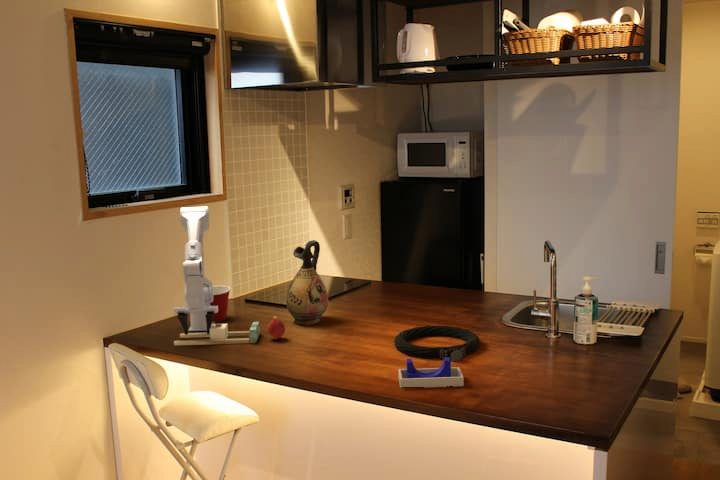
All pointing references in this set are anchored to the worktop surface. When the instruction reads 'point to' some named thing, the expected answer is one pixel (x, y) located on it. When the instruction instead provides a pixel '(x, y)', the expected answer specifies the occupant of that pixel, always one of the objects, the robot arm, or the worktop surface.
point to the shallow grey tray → (431, 379)
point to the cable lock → (437, 352)
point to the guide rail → (252, 333)
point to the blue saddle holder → (441, 372)
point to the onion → (276, 328)
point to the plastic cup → (220, 301)
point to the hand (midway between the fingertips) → (197, 333)
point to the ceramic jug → (307, 288)
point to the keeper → (219, 331)
